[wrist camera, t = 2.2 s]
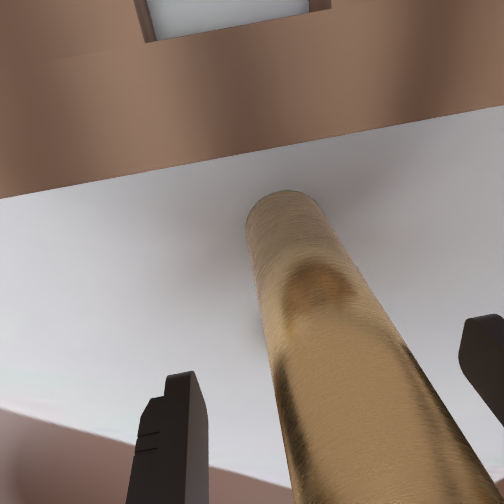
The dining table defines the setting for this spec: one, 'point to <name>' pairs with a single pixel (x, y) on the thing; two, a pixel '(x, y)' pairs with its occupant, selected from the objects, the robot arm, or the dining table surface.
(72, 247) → the dining table surface
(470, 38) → the hole board
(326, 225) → the tall pin
